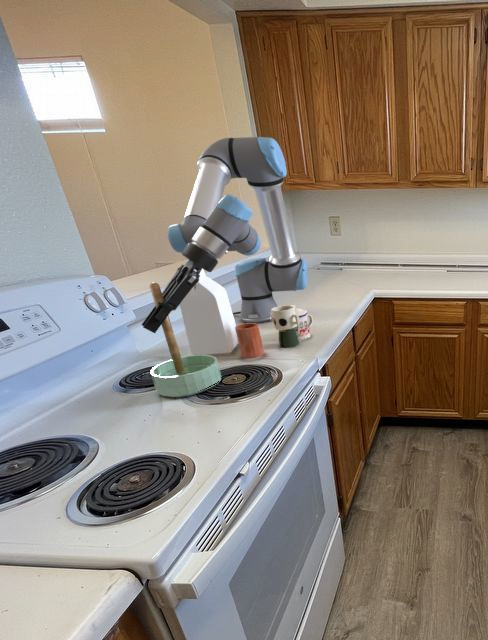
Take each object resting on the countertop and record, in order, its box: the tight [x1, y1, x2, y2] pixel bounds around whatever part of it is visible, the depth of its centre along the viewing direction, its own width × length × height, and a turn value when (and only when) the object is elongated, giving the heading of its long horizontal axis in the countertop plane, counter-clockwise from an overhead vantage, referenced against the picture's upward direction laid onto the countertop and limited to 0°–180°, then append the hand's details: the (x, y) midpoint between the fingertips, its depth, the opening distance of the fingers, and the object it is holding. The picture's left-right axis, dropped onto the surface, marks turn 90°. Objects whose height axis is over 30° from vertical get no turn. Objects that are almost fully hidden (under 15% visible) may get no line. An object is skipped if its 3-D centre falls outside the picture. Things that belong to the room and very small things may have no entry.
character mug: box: [270, 304, 300, 349], centre depth 134 cm, size 11×7×13 cm, turn 68°
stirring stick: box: [149, 281, 185, 374], centre depth 104 cm, size 2×2×24 cm
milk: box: [179, 268, 239, 355], centre depth 130 cm, size 12×12×26 cm
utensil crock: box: [235, 322, 265, 359], centre depth 127 cm, size 6×6×10 cm
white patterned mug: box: [290, 304, 314, 341], centre depth 143 cm, size 12×9×12 cm
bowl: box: [150, 354, 223, 398], centre depth 109 cm, size 15×15×6 cm
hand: (148, 328), depth 101 cm, fingers closed on stirring stick, 2 cm apart
